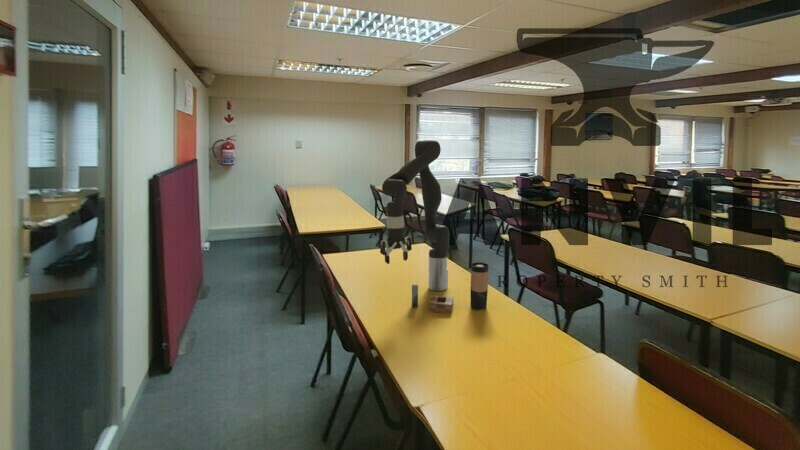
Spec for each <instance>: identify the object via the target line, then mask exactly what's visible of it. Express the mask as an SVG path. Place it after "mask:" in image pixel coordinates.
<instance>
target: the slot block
mask: <svg viewBox="0 0 800 450" xmlns="http://www.w3.org/2000/svg"><path fill="white" fill-rule="evenodd" d="M454 297H455V296H450V295H438V294H431V296H430V299H429V302H428V312H430V313H443V314H452V312H453V309H454V302H455V300H454V299H455V298H454Z"/></svg>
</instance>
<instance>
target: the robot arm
mask: <svg viewBox="0 0 800 450" xmlns="http://www.w3.org/2000/svg"><path fill="white" fill-rule="evenodd" d="M441 149H442V148H441V145H440V142H439V141H437V140H434V139H427V140H426V139H423V140H418V141H417V142H416V143H415V145H414V153H415V155H414V156H415V158H413V159H411V160H410V161H408V162H406V163H405V164H404V165H403V166H402V167H401V168H400V169H399V170H398V172H396V173H393V174H392V175H390V176H389V177H387V178H386V179H385V180H384V181H383V183H382V186H381V189H382V193H383V194H384V195H385V196H388V197H394V200H393V201H389V202H387V204H386V240H380V245H379V248H380V249H379V250H380V251H379V253H380V254H381V255H383V256H384V262H385V263H386V264H388V265H389V264H390V261H391V259H390V254H391V252H393V250H397V249H398V250H399V249H401V250H402V258H403V261H407V260H408V258H409V255H408V253H409V252H410V251H412V250H413V249H412V238H411V237H410V236H406V237H405V218H404V205H405V200H406V195H407V192H408V187H407V186H408V185H409V184H410V183H412V181H413V180H414V178H416V176H417V175H419V179H420V186H421V187H420V188H421V196H422V201H423V211H424V212H423V213H424V225H425V226H424V229H425V231H424V232H425V236H426V239H427V241H429V242H431V243H435V246H434V248H432V249H429V250H428V290H430V291H433V292H443V291H445V290H447V289H448V288H449V287H448V286H449V283H448V282H449V270H448V252H449V247H450V230H449V227H447V226H446V225H441V224H438V219H437V218H438V217H437V213H438V209H439V208H440V205H441V202H442V198H443V197H442V189H441V184H440V182H439V181H438V179H437V178H436V176H435V175H434V173H432V171H431V169H430V168H431V167H430V164H432V163H433V162H434V161H436V160H437V159H438V158H439V157H440V155H441ZM405 242H406V246H405Z"/></svg>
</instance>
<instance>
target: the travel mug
mask: <svg viewBox="0 0 800 450" xmlns="http://www.w3.org/2000/svg"><path fill="white" fill-rule="evenodd" d="M470 266H471V267H470V308H471V309H472V310H476V311H481V310H482V311H484V310H486V309H487V305H488V292H489V291H488V290H489V287H488V286H489V264H487V263H485V262H473V263H471V265H470Z"/></svg>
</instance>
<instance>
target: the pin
mask: <svg viewBox="0 0 800 450" xmlns="http://www.w3.org/2000/svg"><path fill="white" fill-rule="evenodd" d="M418 306H419V285H418V284H411V307H412V308H418Z"/></svg>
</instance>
